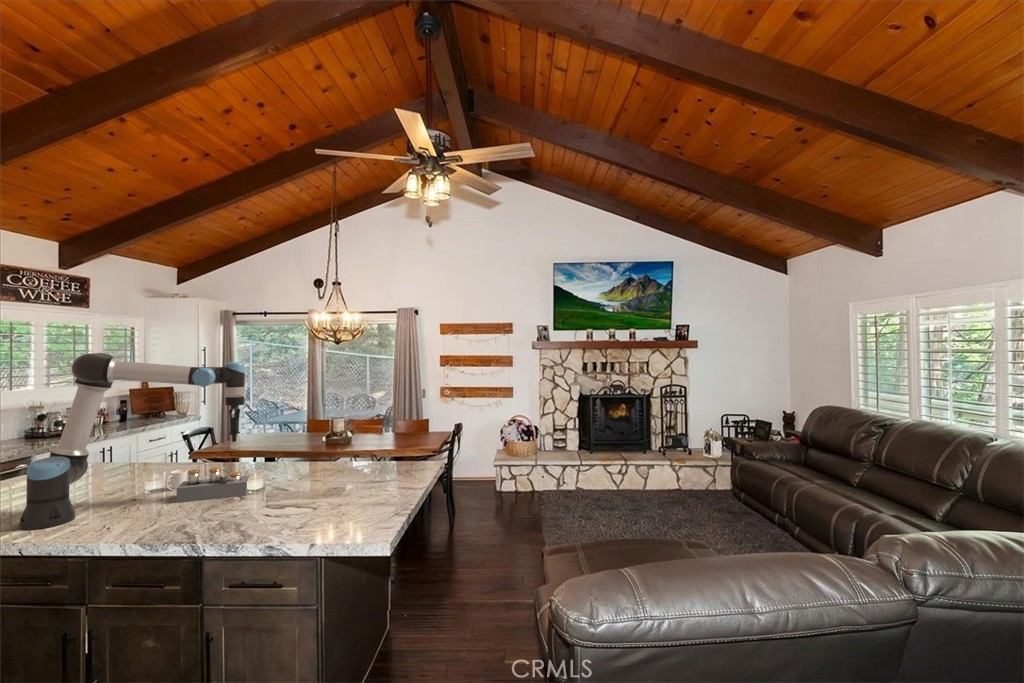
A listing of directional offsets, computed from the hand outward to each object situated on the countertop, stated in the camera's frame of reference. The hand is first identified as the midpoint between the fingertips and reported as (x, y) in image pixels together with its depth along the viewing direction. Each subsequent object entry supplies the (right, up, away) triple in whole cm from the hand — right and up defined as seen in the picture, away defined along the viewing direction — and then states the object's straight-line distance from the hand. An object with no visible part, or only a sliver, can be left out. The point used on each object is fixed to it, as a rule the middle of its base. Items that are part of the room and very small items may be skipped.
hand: (234, 448), depth 218 cm
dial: (-1, -14, -6) cm, 15 cm away
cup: (-30, -21, +6) cm, 37 cm away
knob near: (-14, -15, -6) cm, 22 cm away
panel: (-7, -20, -3) cm, 22 cm away
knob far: (+1, -18, 0) cm, 18 cm away
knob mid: (-7, -15, -3) cm, 17 cm away
